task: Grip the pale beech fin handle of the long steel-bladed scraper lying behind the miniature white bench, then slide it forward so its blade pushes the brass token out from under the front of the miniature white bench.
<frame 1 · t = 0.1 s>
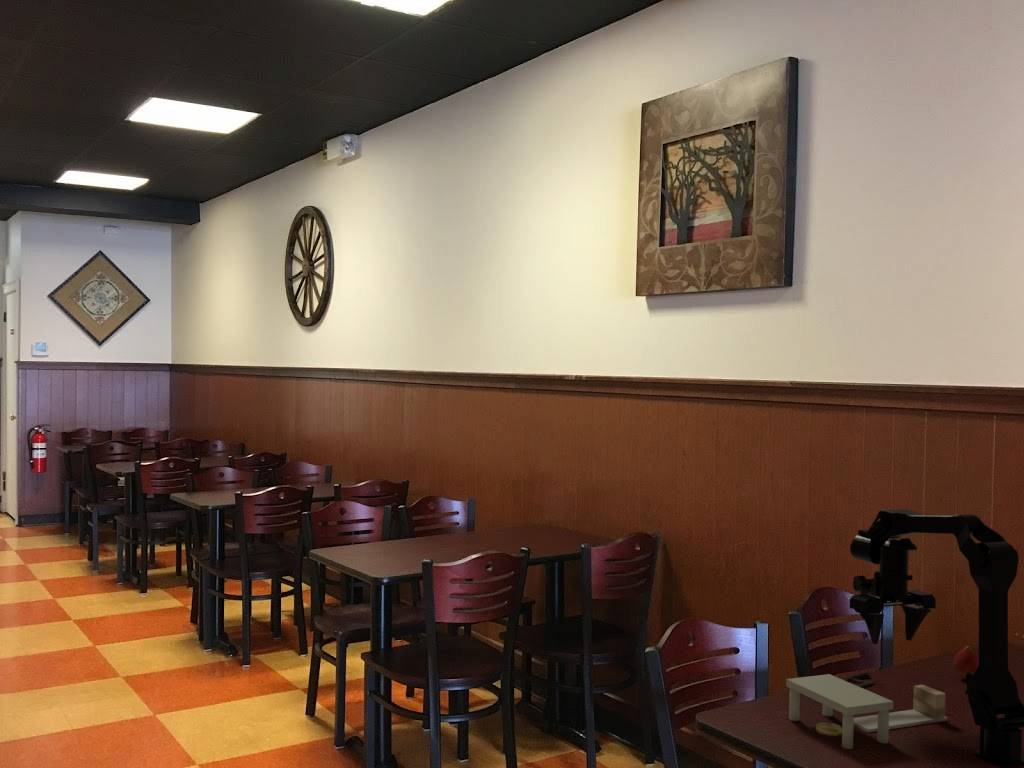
hand: (891, 642, 206), 14 cm above the table, fingers open, 9 cm apart
token: (828, 732, 193), on the table
miniature white bench: (837, 730, 193), on the table
onion: (966, 680, 229), on the table
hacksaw: (849, 691, 220), on the table
scraper: (928, 718, 203), on the table
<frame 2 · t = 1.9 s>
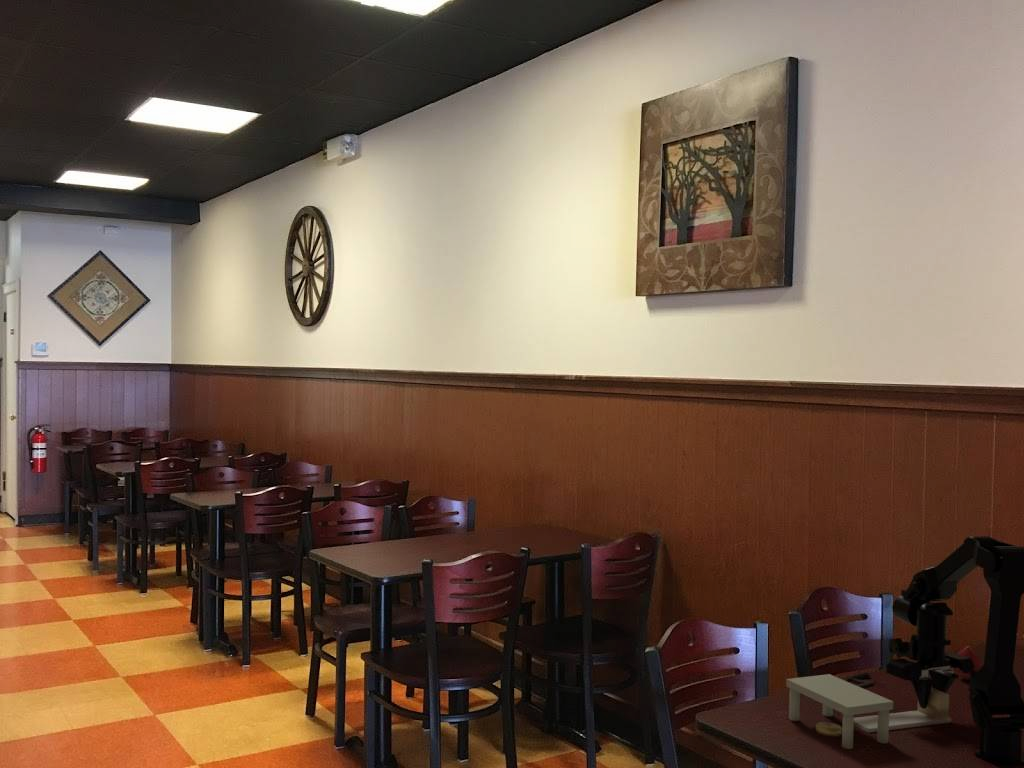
hand: (929, 707, 202), 2 cm above the table, fingers open, 3 cm apart
scraper: (932, 719, 202), on the table, touching gripper
everything else where it was.
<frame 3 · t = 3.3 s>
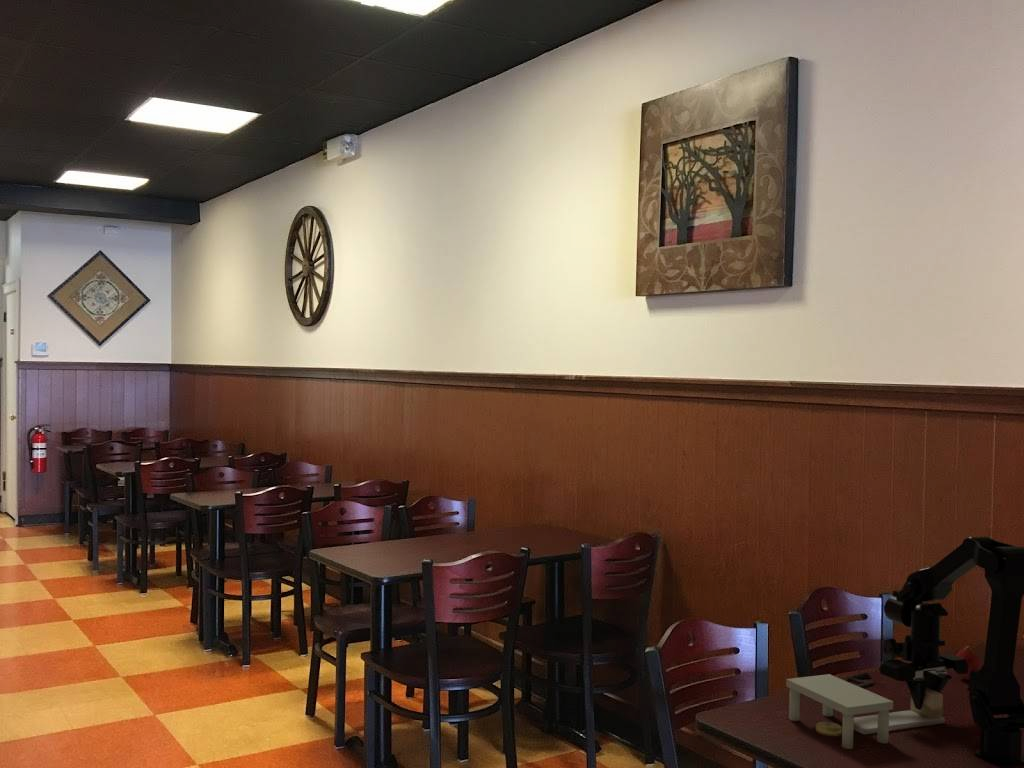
hand: (923, 708, 202), 2 cm above the table, fingers closed on scraper, 2 cm apart
scraper: (925, 719, 201), on the table, touching gripper
everything else where it was.
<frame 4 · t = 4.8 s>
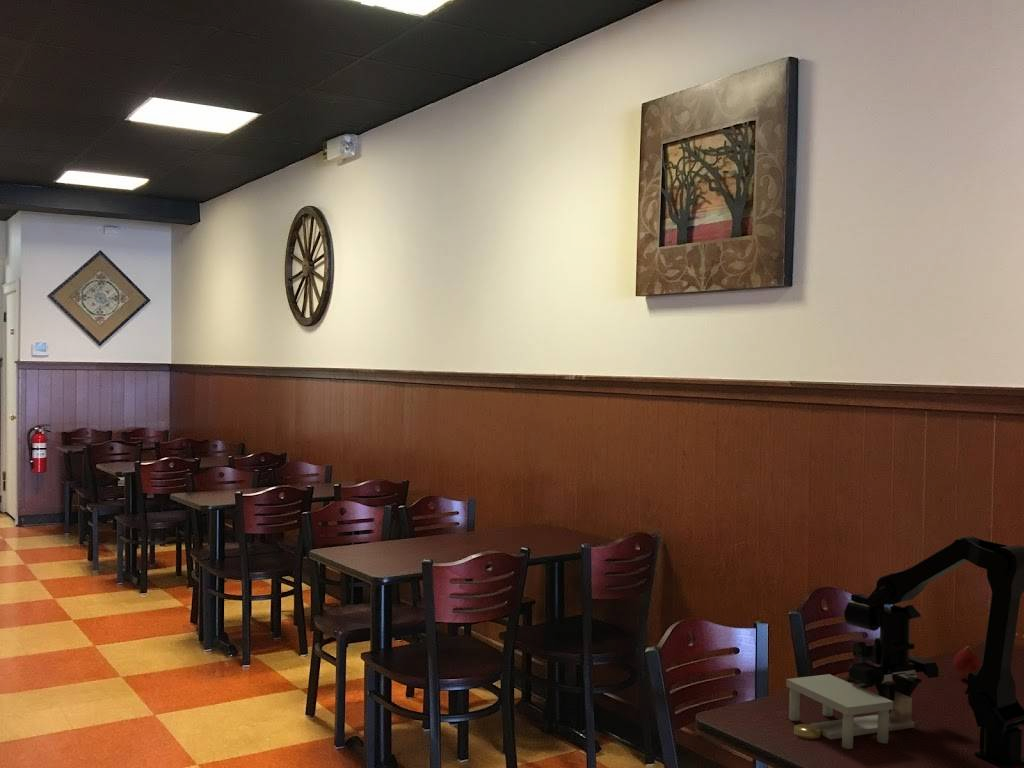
hand: (892, 712, 199), 2 cm above the table, fingers closed on scraper, 2 cm apart
token: (807, 734, 191), on the table, touching scraper
scraper: (895, 723, 198), on the table, touching gripper, token
everything else where it was.
when the fingers open (2 cm above the table, at t = 6.6 s): scraper stays where it is, on the table.
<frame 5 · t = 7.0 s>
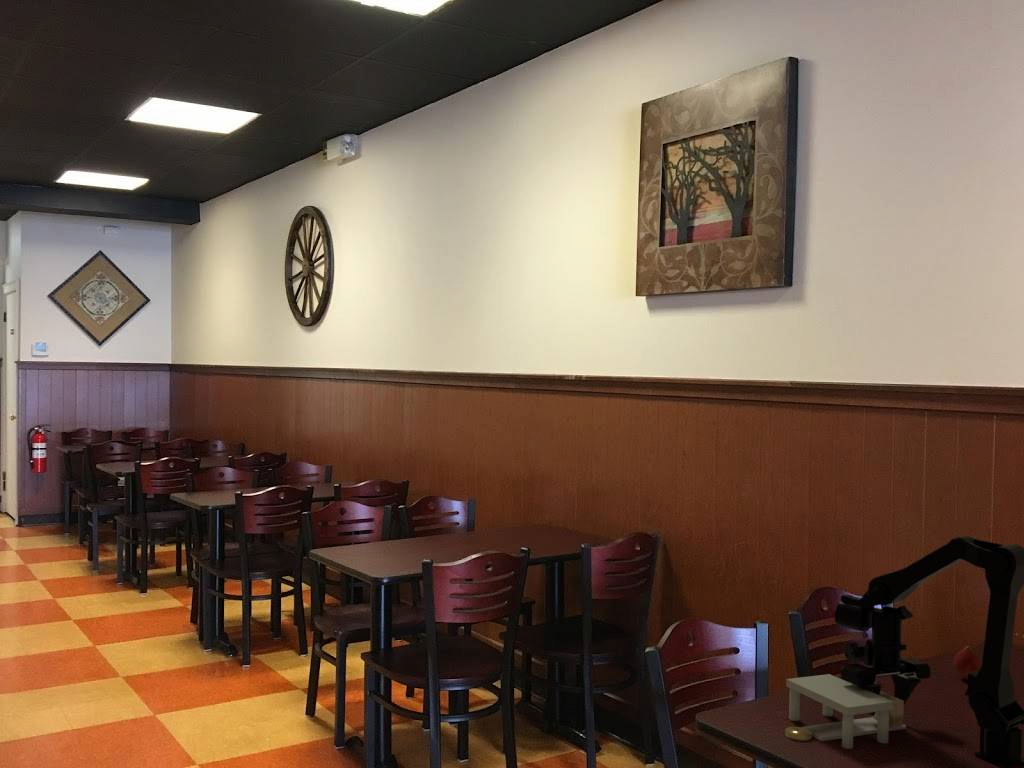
hand: (884, 713, 198), 2 cm above the table, fingers open, 6 cm apart
token: (798, 737, 190), on the table
scraper: (886, 726, 197), on the table
everything else where it was.
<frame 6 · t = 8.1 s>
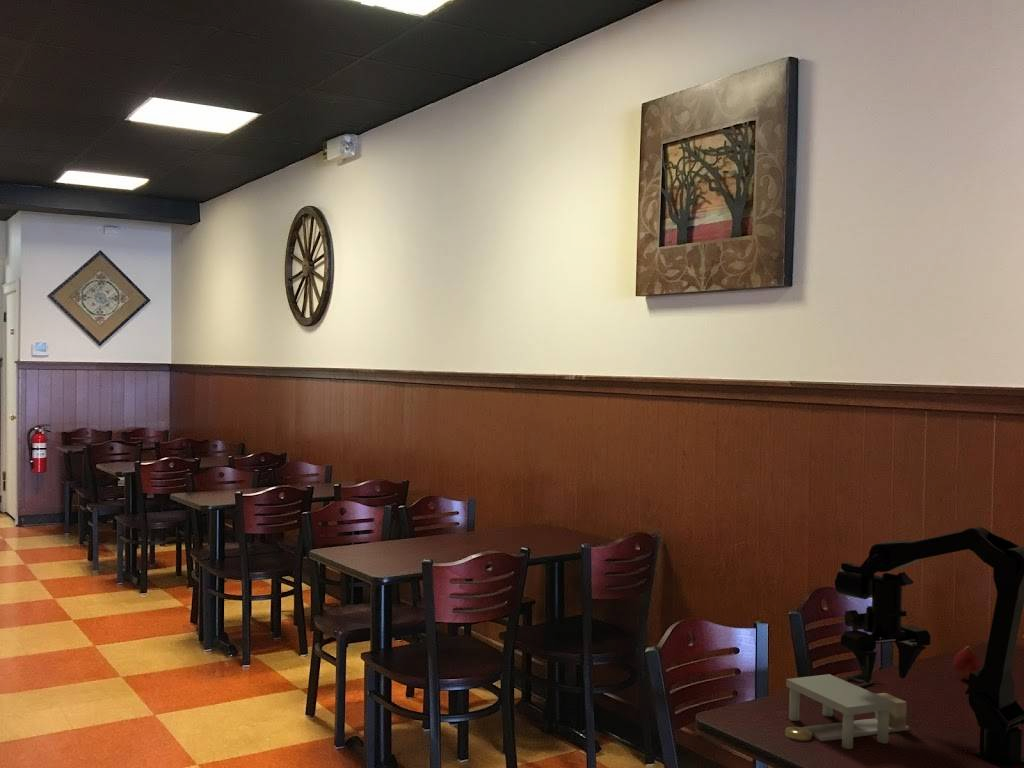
hand: (884, 680, 198), 9 cm above the table, fingers open, 9 cm apart
nothing on the table moved.
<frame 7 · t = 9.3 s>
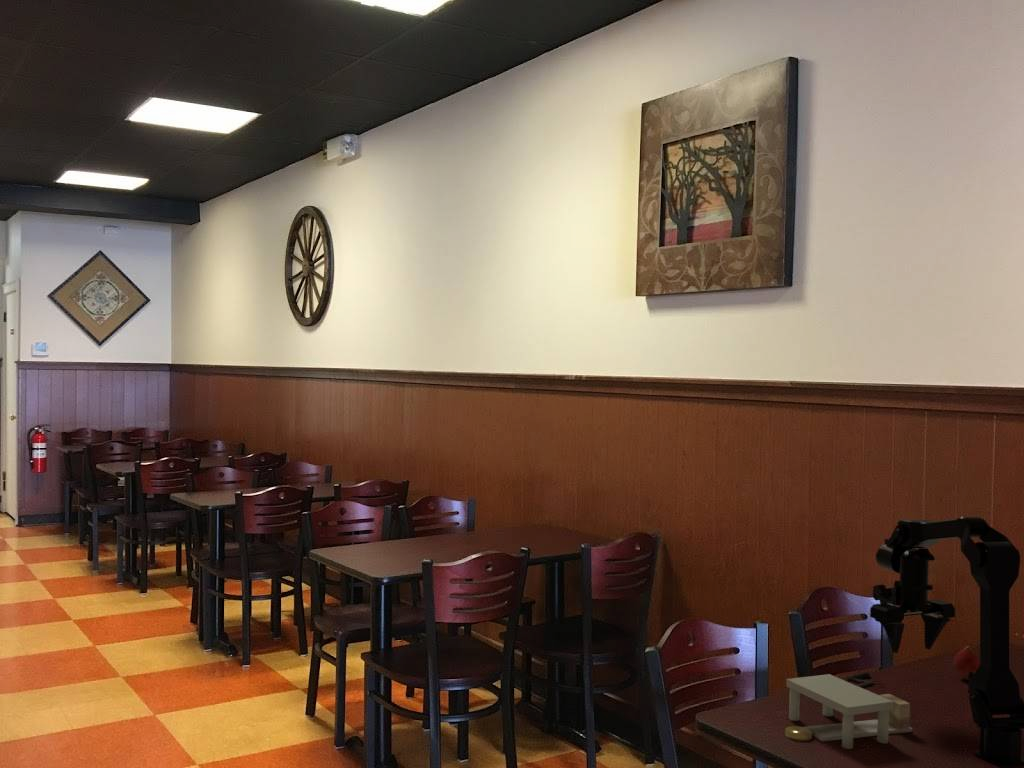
hand: (911, 650, 208), 12 cm above the table, fingers open, 9 cm apart
nothing on the table moved.
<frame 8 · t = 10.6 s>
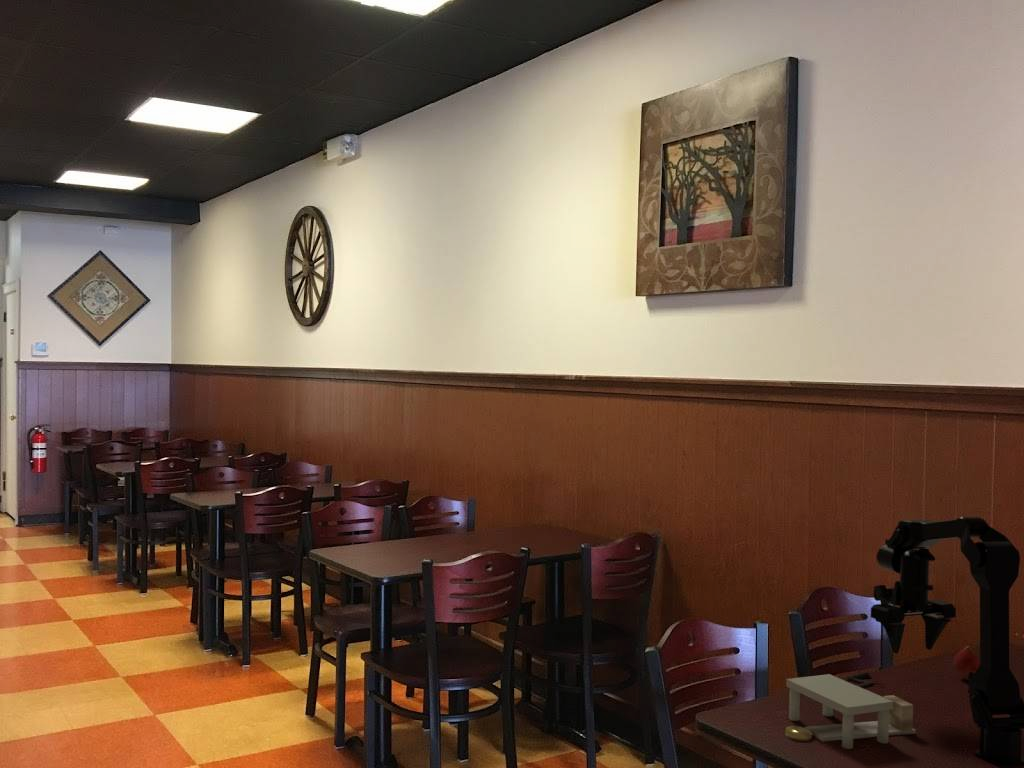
hand: (912, 651, 208), 12 cm above the table, fingers open, 9 cm apart
at the end: token inside the target area on the table beside the miniature white bench (1.8 cm from its centre), on the table; scraper moved 12.0 cm from its start; the gripper is holding nothing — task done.
